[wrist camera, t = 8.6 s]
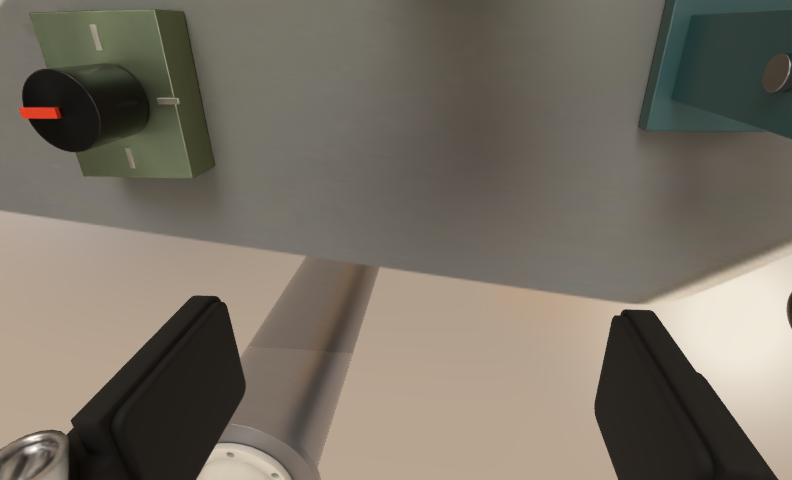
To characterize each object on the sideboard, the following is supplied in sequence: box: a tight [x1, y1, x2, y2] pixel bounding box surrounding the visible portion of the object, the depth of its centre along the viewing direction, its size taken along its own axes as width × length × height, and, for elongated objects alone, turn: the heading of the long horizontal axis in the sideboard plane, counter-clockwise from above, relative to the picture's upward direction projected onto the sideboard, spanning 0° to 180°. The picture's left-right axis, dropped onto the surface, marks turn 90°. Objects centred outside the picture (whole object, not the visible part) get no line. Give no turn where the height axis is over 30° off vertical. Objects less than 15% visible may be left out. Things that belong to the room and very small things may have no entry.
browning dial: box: [19, 63, 148, 152], centre depth 25 cm, size 4×4×4 cm
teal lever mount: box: [639, 0, 792, 139], centre depth 20 cm, size 8×7×12 cm
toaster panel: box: [29, 9, 214, 179], centre depth 29 cm, size 10×9×3 cm
